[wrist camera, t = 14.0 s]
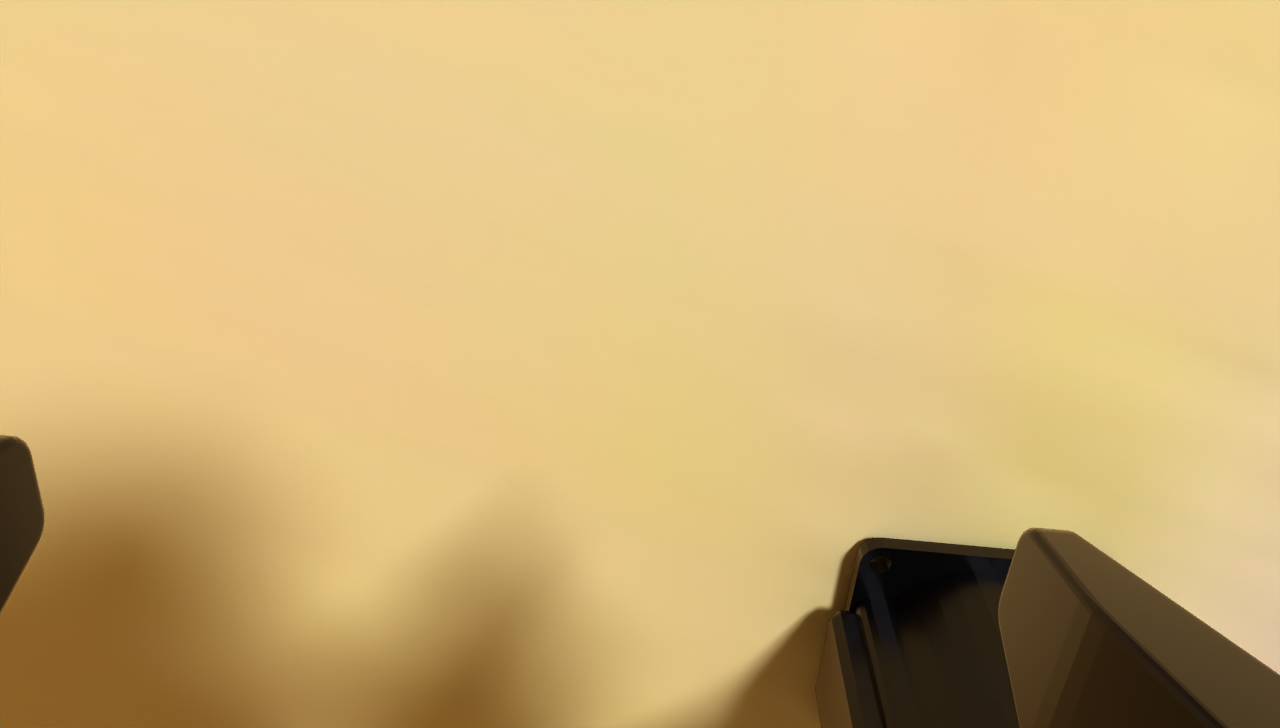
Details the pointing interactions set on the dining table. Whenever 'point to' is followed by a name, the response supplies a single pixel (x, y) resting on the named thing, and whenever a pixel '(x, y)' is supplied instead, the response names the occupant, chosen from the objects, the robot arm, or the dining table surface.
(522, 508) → the dining table surface
